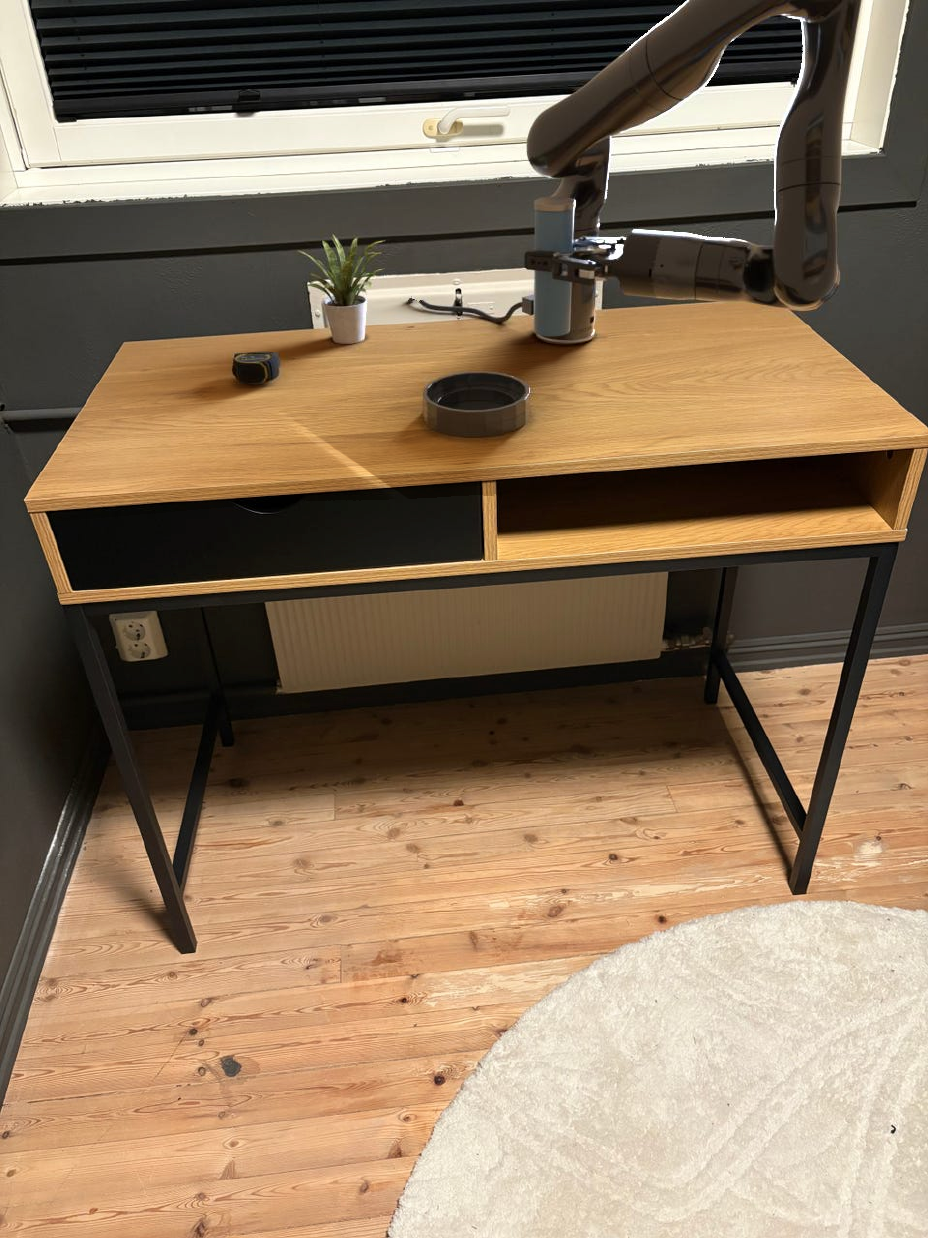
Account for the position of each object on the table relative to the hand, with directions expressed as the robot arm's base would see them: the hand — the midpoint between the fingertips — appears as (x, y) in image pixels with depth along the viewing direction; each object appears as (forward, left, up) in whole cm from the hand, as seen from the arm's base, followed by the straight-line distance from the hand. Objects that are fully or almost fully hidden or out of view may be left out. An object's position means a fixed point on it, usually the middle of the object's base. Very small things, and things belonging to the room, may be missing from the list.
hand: (534, 254), depth 120 cm
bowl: (0, -9, -20) cm, 22 cm away
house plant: (-39, -5, -20) cm, 44 cm away
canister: (+2, +1, -9) cm, 10 cm away
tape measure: (-33, -26, -20) cm, 47 cm away
